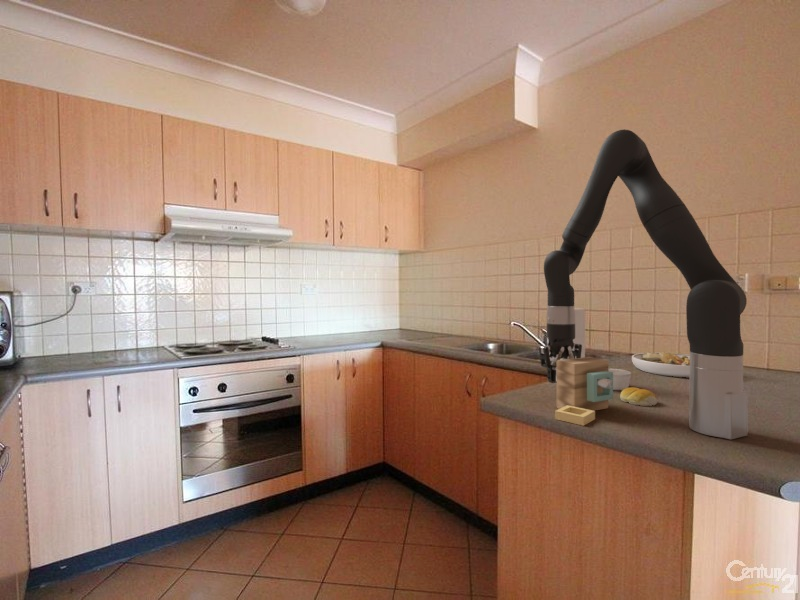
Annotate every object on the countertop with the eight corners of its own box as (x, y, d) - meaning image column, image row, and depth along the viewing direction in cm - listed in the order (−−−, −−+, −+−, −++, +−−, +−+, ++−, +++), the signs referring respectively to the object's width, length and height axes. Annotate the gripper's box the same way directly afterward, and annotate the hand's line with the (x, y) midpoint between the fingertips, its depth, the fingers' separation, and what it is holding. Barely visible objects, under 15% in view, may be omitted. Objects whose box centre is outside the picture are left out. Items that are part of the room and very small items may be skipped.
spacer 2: (613, 398, 101) (613, 372, 101) (593, 402, 99) (593, 374, 99) (606, 397, 103) (606, 370, 103) (586, 400, 101) (586, 373, 100)
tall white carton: (571, 385, 131) (571, 309, 130) (547, 380, 138) (547, 308, 137) (585, 381, 136) (585, 308, 136) (561, 377, 143) (561, 307, 143)
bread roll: (636, 397, 117) (636, 383, 117) (663, 405, 108) (663, 391, 108) (612, 399, 115) (612, 385, 115) (637, 407, 107) (637, 392, 107)
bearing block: (608, 408, 106) (608, 360, 106) (574, 413, 101) (574, 364, 101) (589, 402, 111) (589, 356, 111) (556, 407, 107) (556, 360, 106)
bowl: (620, 371, 153) (620, 351, 153) (645, 362, 174) (645, 344, 174) (719, 385, 131) (719, 361, 131) (734, 371, 152) (734, 351, 152)
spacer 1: (595, 419, 97) (595, 410, 97) (583, 425, 92) (583, 417, 92) (567, 412, 102) (567, 405, 102) (555, 419, 97) (555, 410, 97)
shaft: (613, 390, 99) (613, 376, 99) (603, 391, 98) (603, 378, 98) (555, 375, 117) (555, 364, 117) (546, 376, 116) (546, 365, 116)
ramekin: (609, 382, 136) (609, 366, 136) (639, 389, 126) (639, 372, 125) (584, 385, 132) (584, 369, 132) (613, 393, 122) (613, 375, 121)
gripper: (551, 324, 106) (550, 387, 107) (590, 322, 112) (590, 381, 112) (531, 322, 113) (531, 381, 114) (569, 320, 119) (569, 376, 119)
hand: (560, 381), depth 113 cm, fingers open, 5 cm apart
